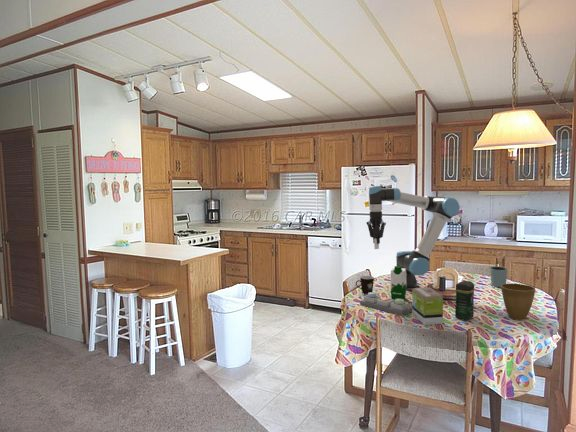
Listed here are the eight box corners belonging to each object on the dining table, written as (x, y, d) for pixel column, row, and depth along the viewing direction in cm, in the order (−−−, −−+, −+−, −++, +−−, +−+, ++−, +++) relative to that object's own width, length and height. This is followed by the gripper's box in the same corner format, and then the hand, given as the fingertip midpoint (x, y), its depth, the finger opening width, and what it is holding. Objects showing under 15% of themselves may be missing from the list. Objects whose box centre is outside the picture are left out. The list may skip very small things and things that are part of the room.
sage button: (405, 304, 213) (405, 299, 213) (400, 306, 210) (400, 301, 210) (398, 302, 217) (398, 298, 217) (393, 304, 214) (393, 300, 214)
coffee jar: (469, 321, 196) (469, 285, 194) (453, 318, 201) (453, 282, 200) (475, 316, 203) (476, 281, 201) (460, 313, 208) (460, 278, 207)
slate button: (378, 297, 227) (378, 293, 227) (373, 299, 224) (373, 295, 223) (371, 296, 230) (371, 291, 230) (366, 297, 227) (366, 293, 227)
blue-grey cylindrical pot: (507, 285, 259) (508, 267, 258) (506, 289, 250) (507, 270, 249) (490, 283, 264) (490, 265, 263) (488, 287, 256) (489, 268, 255)
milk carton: (389, 300, 233) (389, 267, 232) (392, 296, 242) (392, 263, 240) (405, 301, 230) (405, 268, 228) (407, 297, 238) (407, 264, 236)
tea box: (411, 315, 207) (411, 287, 206) (430, 314, 208) (430, 286, 207) (423, 325, 192) (423, 295, 191) (443, 324, 193) (443, 294, 192)
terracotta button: (391, 303, 220) (391, 299, 220) (386, 305, 217) (386, 300, 217) (384, 301, 224) (384, 297, 224) (379, 303, 221) (379, 299, 220)
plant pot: (540, 318, 197) (541, 287, 196) (524, 325, 189) (525, 292, 188) (509, 311, 210) (510, 281, 208) (494, 316, 202) (495, 286, 200)
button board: (412, 311, 213) (412, 302, 213) (402, 315, 207) (402, 307, 206) (370, 300, 234) (370, 292, 234) (359, 304, 228) (359, 296, 227)
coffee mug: (373, 290, 254) (373, 275, 253) (374, 294, 245) (374, 279, 244) (355, 290, 255) (354, 275, 254) (355, 294, 246) (355, 279, 246)
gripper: (363, 211, 245) (364, 248, 247) (381, 211, 236) (382, 250, 238) (370, 210, 251) (371, 246, 253) (388, 210, 241) (389, 248, 243)
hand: (376, 248), depth 245 cm, fingers closed
